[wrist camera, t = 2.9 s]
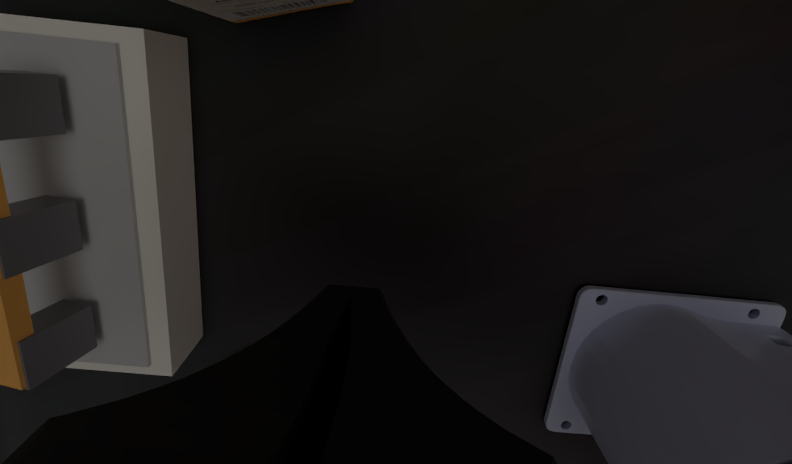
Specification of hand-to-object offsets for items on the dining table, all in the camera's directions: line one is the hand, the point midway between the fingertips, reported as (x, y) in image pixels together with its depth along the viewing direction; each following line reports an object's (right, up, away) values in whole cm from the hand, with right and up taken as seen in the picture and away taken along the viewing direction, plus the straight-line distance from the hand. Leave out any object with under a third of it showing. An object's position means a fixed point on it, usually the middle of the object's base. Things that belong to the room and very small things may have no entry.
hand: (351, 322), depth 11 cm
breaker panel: (-10, +4, +8) cm, 13 cm away
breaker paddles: (-10, +3, +4) cm, 11 cm away
